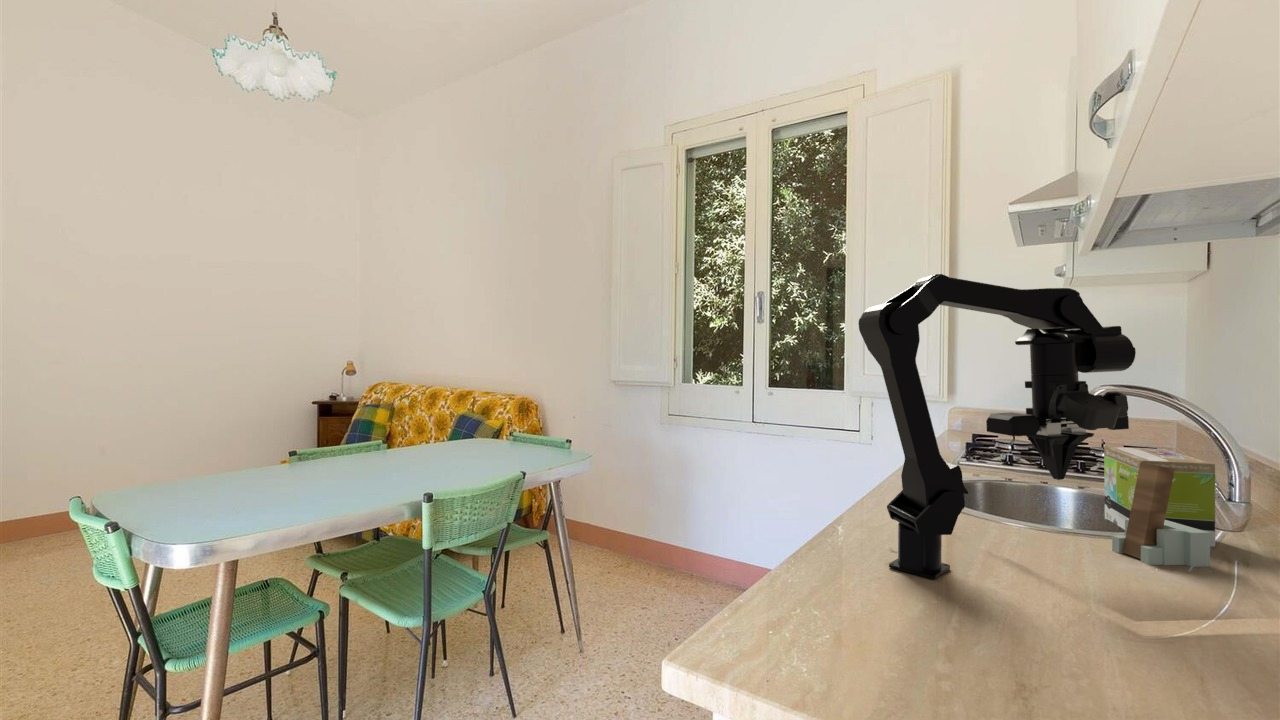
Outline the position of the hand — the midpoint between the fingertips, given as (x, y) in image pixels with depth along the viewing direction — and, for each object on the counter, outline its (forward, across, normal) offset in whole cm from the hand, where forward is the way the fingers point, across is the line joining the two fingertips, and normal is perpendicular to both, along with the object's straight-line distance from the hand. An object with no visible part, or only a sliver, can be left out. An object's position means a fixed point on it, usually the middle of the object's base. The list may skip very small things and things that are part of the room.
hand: (1058, 479), depth 86 cm
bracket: (+14, +14, -1) cm, 20 cm away
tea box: (+15, +28, +11) cm, 34 cm away
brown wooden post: (+12, +12, -1) cm, 17 cm away
